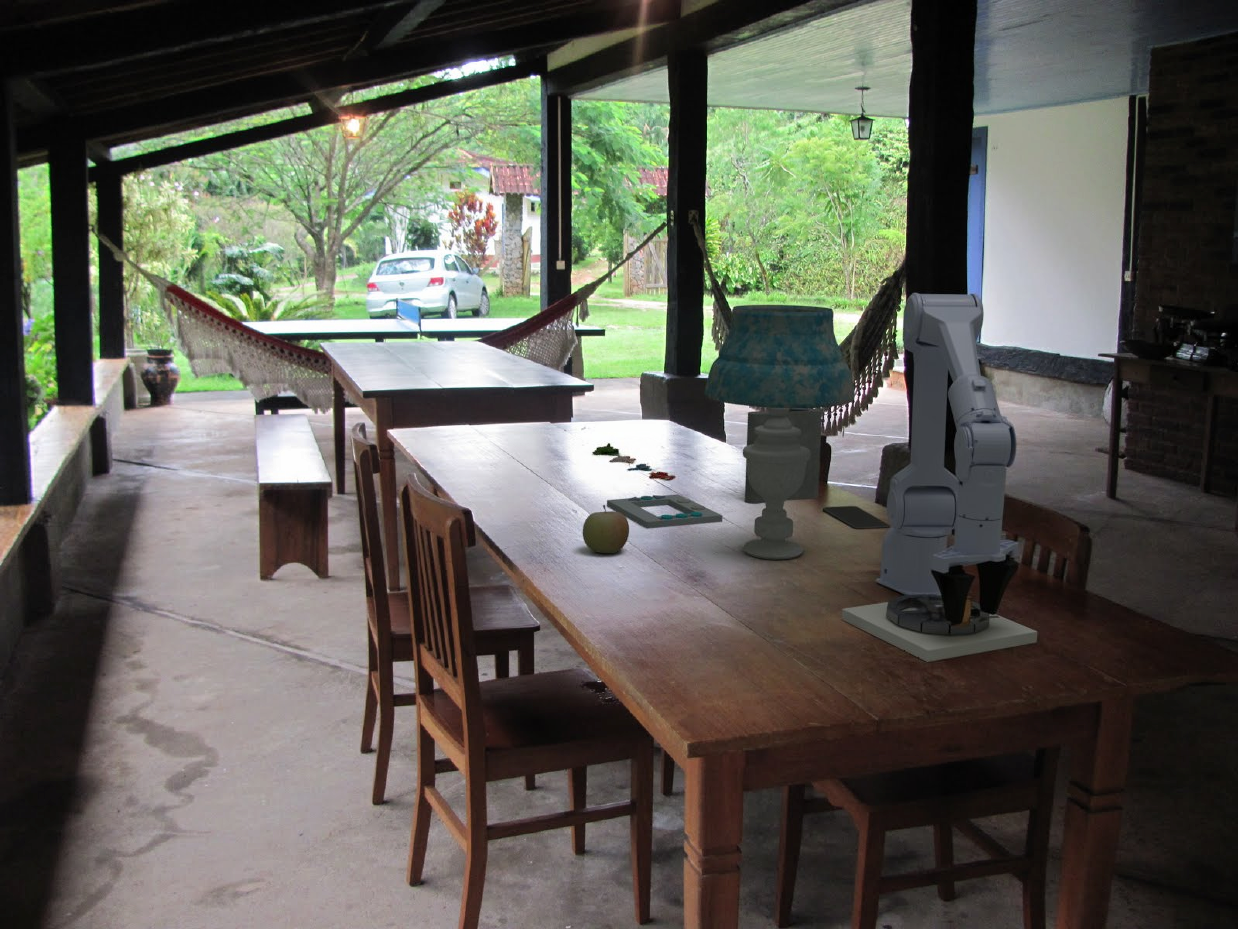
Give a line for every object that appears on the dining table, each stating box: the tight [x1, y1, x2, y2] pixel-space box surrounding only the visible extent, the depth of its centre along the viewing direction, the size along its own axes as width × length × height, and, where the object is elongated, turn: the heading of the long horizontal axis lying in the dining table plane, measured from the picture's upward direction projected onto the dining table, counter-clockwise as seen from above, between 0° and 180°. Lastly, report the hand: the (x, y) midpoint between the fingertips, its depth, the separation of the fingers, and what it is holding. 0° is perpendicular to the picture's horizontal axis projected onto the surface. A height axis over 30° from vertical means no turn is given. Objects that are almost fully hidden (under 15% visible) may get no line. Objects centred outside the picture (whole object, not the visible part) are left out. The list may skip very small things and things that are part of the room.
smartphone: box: [822, 505, 891, 530], centre depth 226 cm, size 7×1×15 cm
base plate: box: [841, 594, 1038, 663], centre depth 165 cm, size 18×18×2 cm
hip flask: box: [744, 408, 823, 505], centre depth 239 cm, size 16×4×20 cm, turn 112°
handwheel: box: [886, 594, 990, 635], centre depth 164 cm, size 14×13×5 cm
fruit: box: [582, 504, 630, 554], centre depth 201 cm, size 8×7×8 cm
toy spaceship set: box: [592, 442, 676, 481], centre depth 272 cm, size 35×6×3 cm, turn 26°
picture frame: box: [606, 493, 723, 530], centre depth 228 cm, size 18×2×15 cm
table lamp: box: [704, 304, 856, 561], centre depth 198 cm, size 24×24×40 cm
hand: (971, 617), depth 160 cm, fingers open, 6 cm apart
